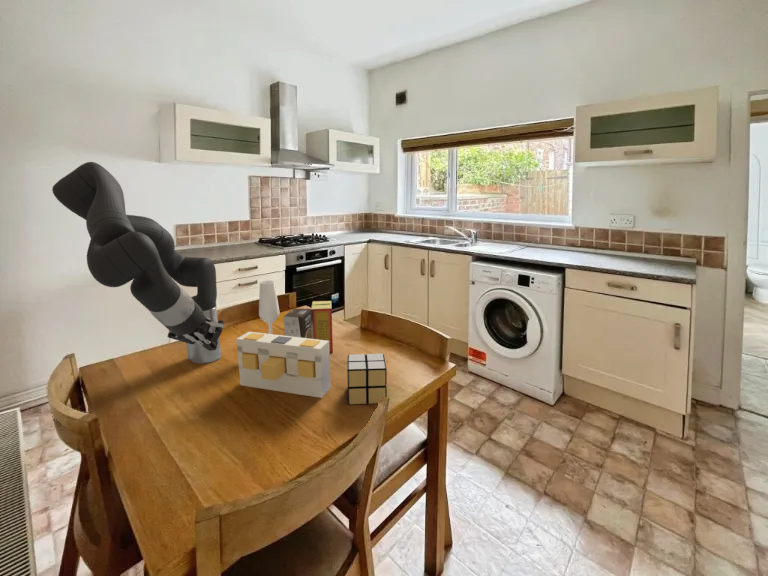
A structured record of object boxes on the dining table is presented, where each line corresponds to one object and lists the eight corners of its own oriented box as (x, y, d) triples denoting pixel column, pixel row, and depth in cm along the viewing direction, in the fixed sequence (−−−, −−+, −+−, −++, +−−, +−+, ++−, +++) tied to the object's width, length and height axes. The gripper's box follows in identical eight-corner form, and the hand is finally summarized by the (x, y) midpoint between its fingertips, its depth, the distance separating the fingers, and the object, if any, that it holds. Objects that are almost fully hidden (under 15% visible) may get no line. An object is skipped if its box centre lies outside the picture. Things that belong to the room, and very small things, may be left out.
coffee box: (304, 366, 129) (302, 317, 125) (285, 364, 130) (282, 315, 126) (315, 354, 138) (313, 308, 134) (297, 353, 139) (294, 307, 135)
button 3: (298, 376, 109) (297, 362, 108) (308, 366, 115) (307, 353, 114) (312, 378, 108) (311, 363, 107) (321, 368, 113) (321, 355, 112)
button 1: (242, 368, 114) (241, 354, 113) (254, 359, 119) (253, 346, 118) (255, 369, 113) (254, 356, 112) (267, 361, 118) (266, 348, 117)
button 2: (261, 378, 108) (260, 364, 107) (273, 369, 113) (272, 355, 112) (275, 380, 107) (274, 366, 106) (286, 371, 112) (285, 357, 111)
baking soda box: (332, 352, 139) (331, 307, 135) (313, 353, 139) (311, 308, 135) (332, 342, 148) (331, 299, 145) (314, 343, 148) (312, 300, 144)
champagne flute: (257, 353, 139) (252, 283, 133) (267, 345, 145) (262, 279, 139) (276, 354, 137) (271, 285, 131) (285, 347, 144) (281, 280, 138)
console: (240, 385, 117) (236, 337, 113) (252, 376, 122) (249, 330, 119) (321, 397, 110) (319, 347, 106) (330, 387, 116) (329, 339, 112)
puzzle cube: (348, 387, 116) (347, 354, 114) (383, 385, 117) (383, 353, 114) (348, 405, 106) (347, 369, 104) (386, 404, 107) (386, 368, 105)
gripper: (139, 328, 82) (183, 364, 97) (203, 321, 82) (238, 358, 96) (149, 297, 87) (190, 336, 101) (209, 290, 86) (242, 330, 100)
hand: (213, 346), depth 98 cm, fingers closed
